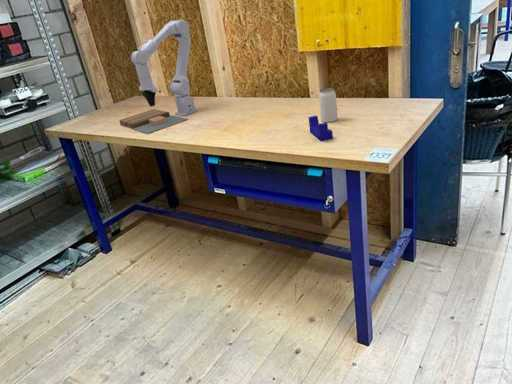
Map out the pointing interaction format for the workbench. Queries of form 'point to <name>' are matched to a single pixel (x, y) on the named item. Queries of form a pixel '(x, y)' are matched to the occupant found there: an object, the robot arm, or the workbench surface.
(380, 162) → the workbench surface
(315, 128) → the blue angular piece
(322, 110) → the can
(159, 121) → the tile
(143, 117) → the deck
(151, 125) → the mat
